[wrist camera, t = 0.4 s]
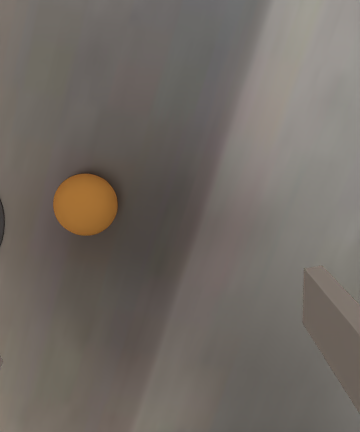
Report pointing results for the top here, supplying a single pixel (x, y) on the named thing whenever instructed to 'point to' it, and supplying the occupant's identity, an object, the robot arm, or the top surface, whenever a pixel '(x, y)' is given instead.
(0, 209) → the disc
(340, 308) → the robot arm
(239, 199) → the top surface
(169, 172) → the top surface
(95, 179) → the ball
